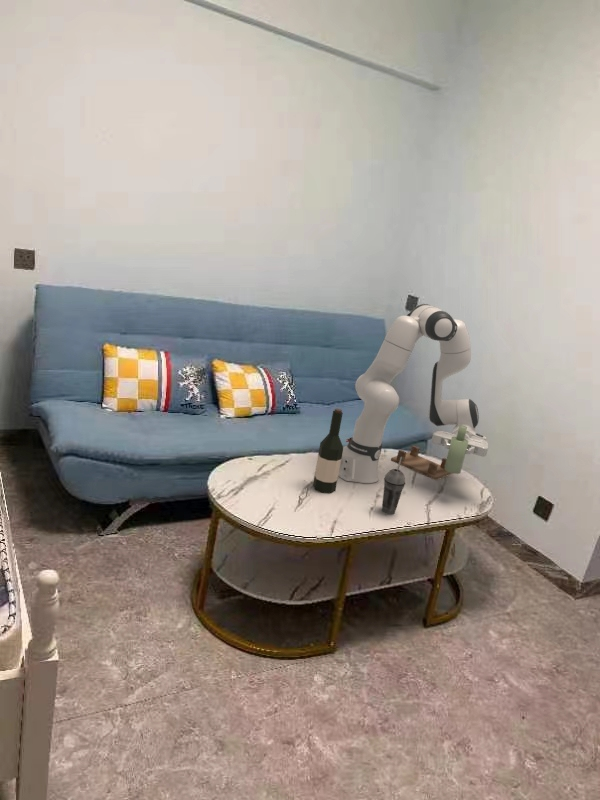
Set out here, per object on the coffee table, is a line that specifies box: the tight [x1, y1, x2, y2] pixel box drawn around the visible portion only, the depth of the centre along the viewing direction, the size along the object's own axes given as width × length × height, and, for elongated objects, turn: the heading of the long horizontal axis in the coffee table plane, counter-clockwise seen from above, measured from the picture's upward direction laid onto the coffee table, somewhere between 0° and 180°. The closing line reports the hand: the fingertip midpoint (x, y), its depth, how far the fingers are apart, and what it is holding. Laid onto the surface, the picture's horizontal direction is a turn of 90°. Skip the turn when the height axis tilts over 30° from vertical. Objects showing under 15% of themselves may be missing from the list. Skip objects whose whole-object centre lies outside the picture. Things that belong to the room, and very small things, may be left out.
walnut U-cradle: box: [390, 445, 453, 481], centre depth 259 cm, size 22×14×5 cm, turn 48°
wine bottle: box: [312, 408, 344, 494], centre depth 219 cm, size 8×8×30 cm
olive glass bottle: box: [444, 425, 468, 475], centre depth 224 cm, size 6×6×17 cm
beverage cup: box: [381, 457, 406, 516], centre depth 211 cm, size 7×7×20 cm
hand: (457, 449), depth 223 cm, fingers closed on olive glass bottle, 6 cm apart
